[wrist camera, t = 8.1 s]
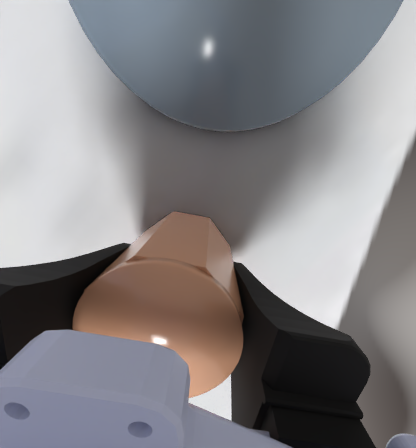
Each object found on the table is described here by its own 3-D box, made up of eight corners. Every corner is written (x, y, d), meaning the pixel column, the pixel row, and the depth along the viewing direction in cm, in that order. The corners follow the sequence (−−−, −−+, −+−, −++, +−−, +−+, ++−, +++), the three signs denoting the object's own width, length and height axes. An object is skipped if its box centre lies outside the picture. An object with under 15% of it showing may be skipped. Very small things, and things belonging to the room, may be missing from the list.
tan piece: (139, 283, 14) (74, 387, 8) (146, 204, 13) (69, 249, 6) (219, 297, 14) (224, 410, 8) (237, 220, 13) (262, 282, 6)
